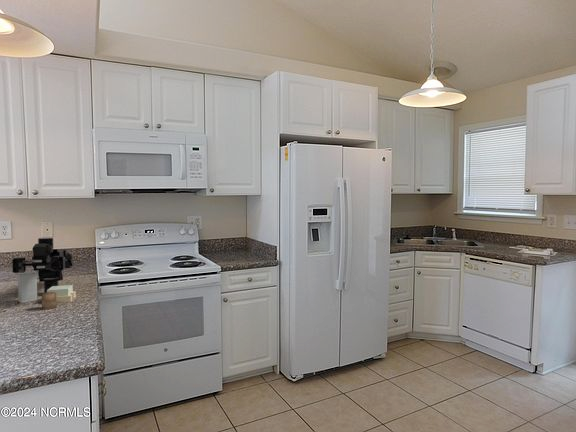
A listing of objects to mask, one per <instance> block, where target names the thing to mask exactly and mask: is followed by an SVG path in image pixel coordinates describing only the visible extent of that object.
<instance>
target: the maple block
mask: <svg viewBox="0 0 576 432" xmlns="http://www.w3.org/2000/svg"><path fill="white" fill-rule="evenodd" d="M76 297H77V291H76V290H73V292H72V293H71V294H70V295H69V296H58V297H56V304H59V303H60V304H61V303H71V302H72V301H73V300H74V299H75V298H76Z"/></svg>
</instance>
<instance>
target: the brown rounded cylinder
mask: <svg viewBox="0 0 576 432" xmlns="http://www.w3.org/2000/svg"><path fill="white" fill-rule="evenodd" d="M57 304H58V303H56V292H46V293H44V292H43V293H41V309H42V310H44V311H45V310H47V311H48V310H53V309H56V308H57Z"/></svg>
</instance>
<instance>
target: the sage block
mask: <svg viewBox="0 0 576 432" xmlns="http://www.w3.org/2000/svg"><path fill="white" fill-rule="evenodd" d="M73 291H74V288H73V284H71V285H70V284H68V285H58V286H52V287H51V288H49V289H48V290H47V292H56V297H58V296H69V295H70V294H71V293H72V292H73Z"/></svg>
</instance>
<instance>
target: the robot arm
mask: <svg viewBox="0 0 576 432" xmlns="http://www.w3.org/2000/svg"><path fill="white" fill-rule="evenodd" d="M32 253H33V255H32V256H31V260H29V259H28V260H27V259H26V258H25V257H24V256H23V257H14V258H13V259H12V265H11V266H12V273H14V274H24V273H25V272H26V270H27V267H32V268H33V272H34V271H35V272H36V271H37V272H38V273H37V275H38V280H39V283H41V282H43V293H46V292H47V290H48V289H49V288H51V287H52V286H59V282H60V281H63V280H64V275H63V274H64V273H63V270H66V269H72V268H73V267H74V265H75V262H74V261H75V260H74V258H73V255H71V253H69V252H68V250H67V249H57V248H54V238H53V237H41V238H40V237H39V238H38V239H37V243H34V245H33V247H32Z"/></svg>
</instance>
